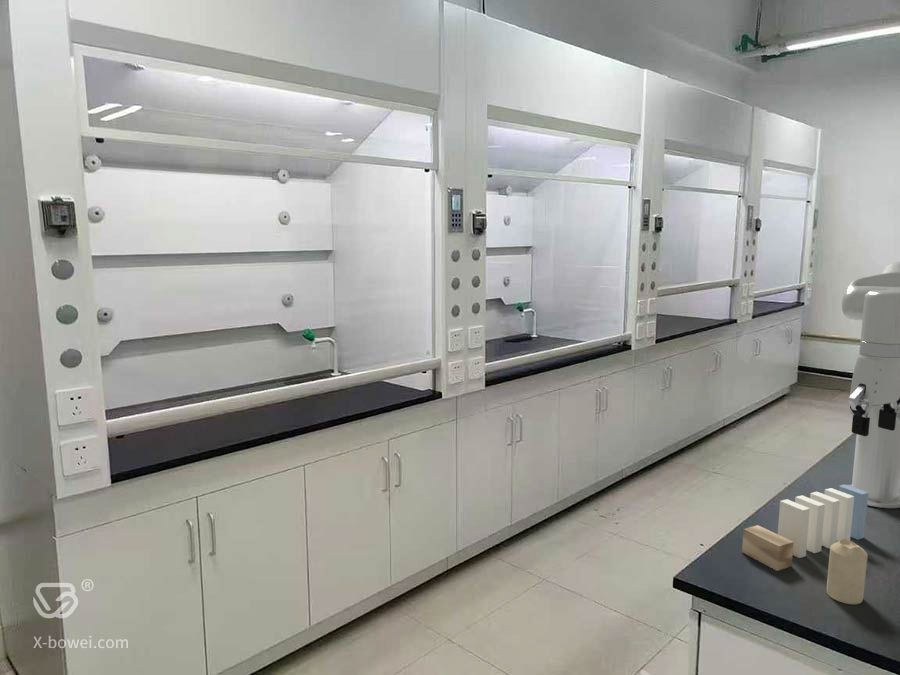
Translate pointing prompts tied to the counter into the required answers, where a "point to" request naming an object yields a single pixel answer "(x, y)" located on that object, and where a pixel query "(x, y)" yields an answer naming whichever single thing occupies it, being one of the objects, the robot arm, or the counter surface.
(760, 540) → the end block
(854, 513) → the domino
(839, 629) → the counter surface
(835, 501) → the domino
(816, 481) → the counter surface
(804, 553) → the domino
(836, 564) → the candle
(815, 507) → the domino
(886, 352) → the robot arm
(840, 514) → the domino
